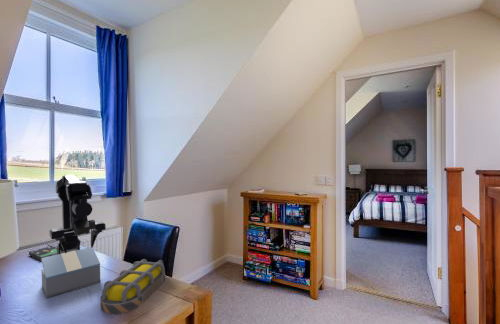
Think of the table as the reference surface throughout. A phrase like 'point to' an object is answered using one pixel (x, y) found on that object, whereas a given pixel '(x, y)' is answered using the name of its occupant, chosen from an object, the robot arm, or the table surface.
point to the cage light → (132, 287)
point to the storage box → (70, 281)
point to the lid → (69, 262)
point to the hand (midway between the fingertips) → (79, 250)
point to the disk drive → (43, 253)
